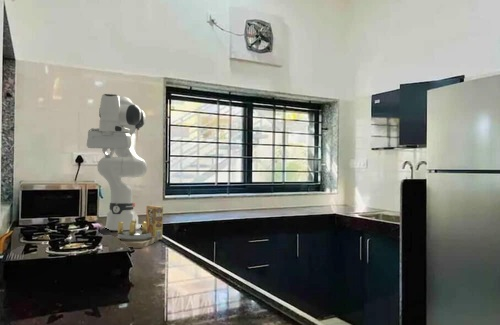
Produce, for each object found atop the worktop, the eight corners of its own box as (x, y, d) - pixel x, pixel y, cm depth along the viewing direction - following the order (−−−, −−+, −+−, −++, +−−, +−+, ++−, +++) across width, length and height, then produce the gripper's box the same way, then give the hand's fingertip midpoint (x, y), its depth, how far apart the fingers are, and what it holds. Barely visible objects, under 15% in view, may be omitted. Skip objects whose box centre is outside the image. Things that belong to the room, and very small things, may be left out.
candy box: (162, 239, 181) (163, 206, 181) (154, 240, 178) (155, 207, 178) (153, 237, 187) (154, 205, 187) (145, 237, 184) (146, 205, 184)
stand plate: (122, 239, 179) (122, 234, 179) (158, 240, 177) (158, 235, 177) (103, 246, 161) (103, 240, 161) (142, 248, 159) (142, 242, 159)
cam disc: (116, 241, 161) (116, 224, 161) (119, 235, 174) (119, 220, 175) (150, 240, 164) (151, 224, 164) (151, 235, 178) (151, 220, 178)
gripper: (84, 127, 177) (83, 157, 176) (127, 127, 174) (126, 158, 174) (91, 129, 183) (90, 158, 182) (133, 129, 180) (132, 159, 180)
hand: (108, 158), depth 178 cm, fingers closed
